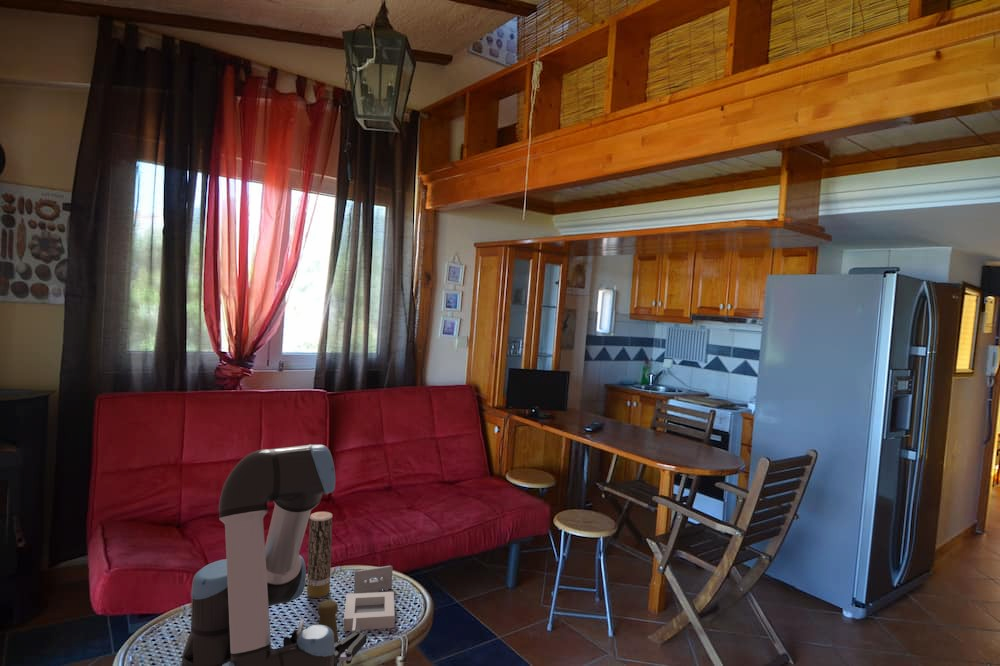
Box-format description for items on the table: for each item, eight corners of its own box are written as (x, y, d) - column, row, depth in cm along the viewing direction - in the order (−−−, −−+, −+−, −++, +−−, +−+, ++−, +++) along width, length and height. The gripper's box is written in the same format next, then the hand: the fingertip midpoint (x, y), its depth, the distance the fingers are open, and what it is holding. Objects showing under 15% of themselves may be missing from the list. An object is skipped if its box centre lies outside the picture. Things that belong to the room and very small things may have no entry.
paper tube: (323, 586, 186) (326, 510, 185) (333, 594, 181) (336, 516, 180) (303, 592, 181) (305, 514, 180) (312, 601, 176) (315, 521, 175)
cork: (331, 650, 152) (333, 610, 152) (310, 647, 153) (312, 606, 153) (342, 638, 158) (343, 598, 158) (322, 634, 159) (323, 595, 159)
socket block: (343, 631, 161) (343, 618, 161) (346, 605, 175) (346, 593, 175) (394, 627, 164) (394, 615, 164) (393, 602, 178) (393, 591, 178)
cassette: (354, 596, 181) (355, 572, 180) (353, 593, 182) (354, 570, 182) (392, 590, 186) (393, 567, 185) (390, 587, 187) (391, 564, 187)
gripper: (261, 694, 131) (278, 640, 151) (374, 685, 135) (375, 633, 156) (262, 661, 130) (279, 612, 151) (375, 654, 135) (376, 606, 156)
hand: (328, 623), depth 154 cm, fingers open, 13 cm apart
